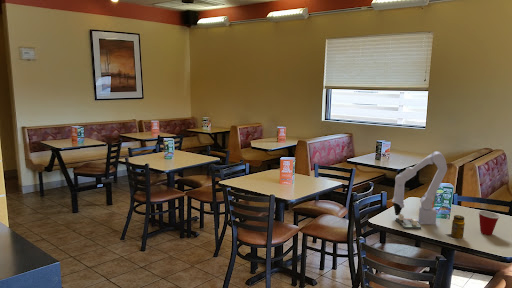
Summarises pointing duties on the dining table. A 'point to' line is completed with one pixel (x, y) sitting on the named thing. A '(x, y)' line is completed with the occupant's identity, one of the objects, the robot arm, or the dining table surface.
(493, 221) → the plastic cup
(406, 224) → the breaker panel
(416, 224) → the breaker
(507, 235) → the dining table surface
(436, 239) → the dining table surface
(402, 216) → the breaker
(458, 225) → the condiment
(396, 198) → the robot arm
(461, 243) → the dining table surface
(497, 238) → the dining table surface
